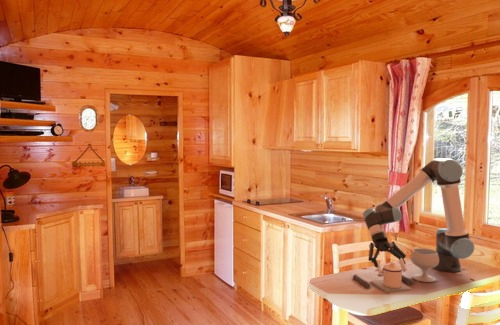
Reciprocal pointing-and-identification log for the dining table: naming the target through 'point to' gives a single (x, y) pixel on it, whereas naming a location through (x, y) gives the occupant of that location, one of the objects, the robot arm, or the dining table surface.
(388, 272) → the teacup with lid
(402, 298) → the dining table surface
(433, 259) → the chalice
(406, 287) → the slate tile
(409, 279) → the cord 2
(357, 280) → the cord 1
